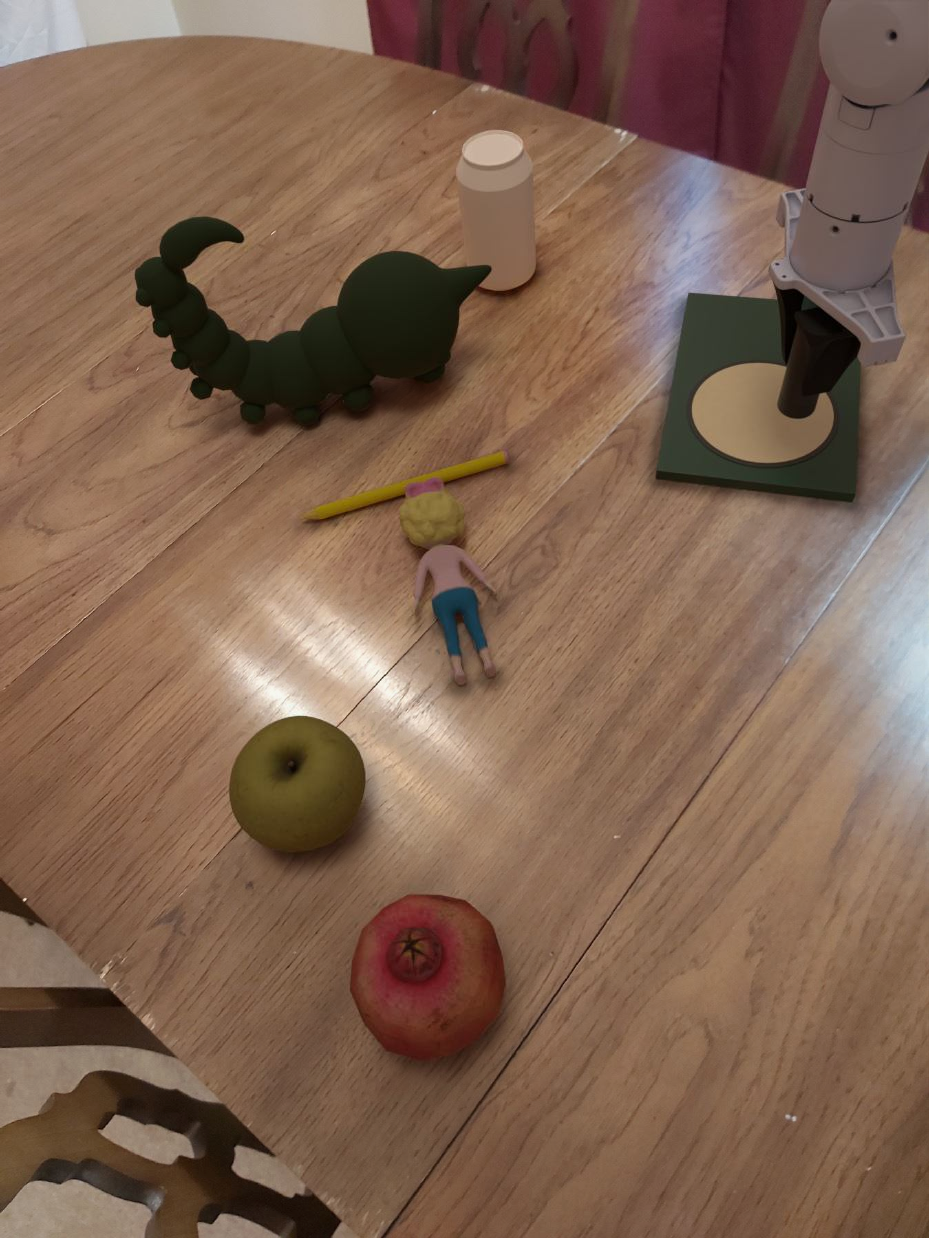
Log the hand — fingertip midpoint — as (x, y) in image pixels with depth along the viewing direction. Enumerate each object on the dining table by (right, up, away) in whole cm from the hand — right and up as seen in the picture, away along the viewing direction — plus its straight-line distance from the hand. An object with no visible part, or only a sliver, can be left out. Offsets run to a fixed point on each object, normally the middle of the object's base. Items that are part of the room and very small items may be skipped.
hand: (806, 374), depth 64 cm
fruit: (-25, -37, -12) cm, 46 cm away
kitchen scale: (0, +1, +9) cm, 9 cm away
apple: (-33, -29, -5) cm, 44 cm away
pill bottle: (0, -2, +2) cm, 3 cm away
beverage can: (-20, +14, +20) cm, 32 cm away
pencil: (-28, -7, +8) cm, 30 cm away
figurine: (-24, -15, +2) cm, 29 cm away
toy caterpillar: (-33, +2, +14) cm, 36 cm away
